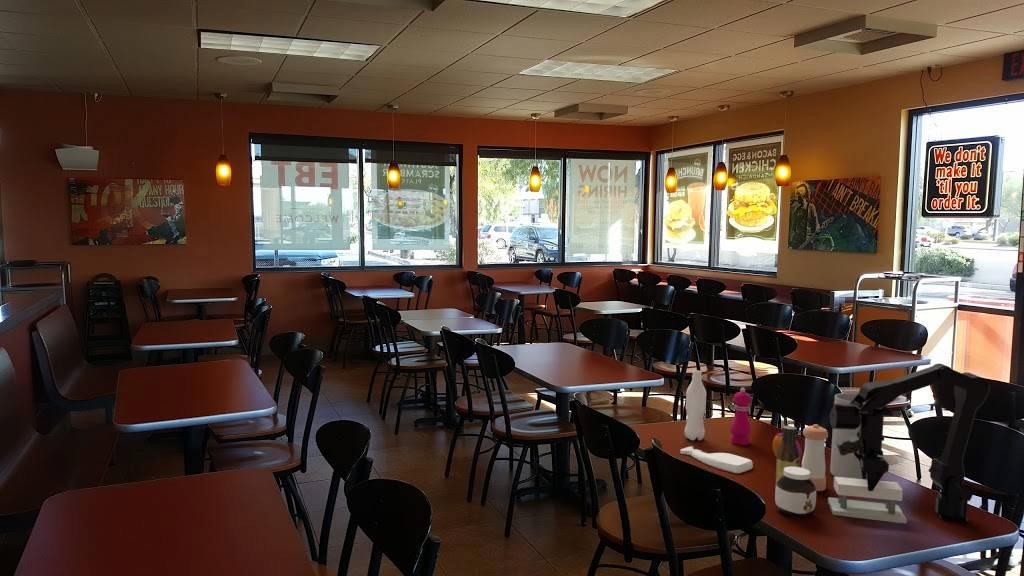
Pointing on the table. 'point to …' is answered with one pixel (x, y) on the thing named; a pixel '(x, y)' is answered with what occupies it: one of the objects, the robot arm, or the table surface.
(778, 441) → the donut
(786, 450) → the sauce bottle
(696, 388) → the water bottle
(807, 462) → the pepper shaker
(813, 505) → the spread jar
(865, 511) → the peg stand
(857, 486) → the shelf board
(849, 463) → the cylinder vase
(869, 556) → the table surface
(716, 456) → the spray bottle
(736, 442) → the pepper mill
